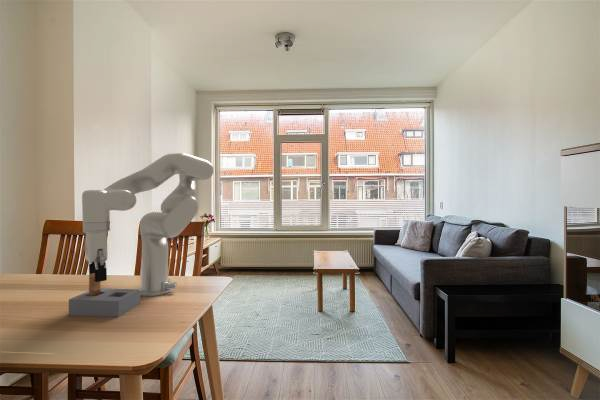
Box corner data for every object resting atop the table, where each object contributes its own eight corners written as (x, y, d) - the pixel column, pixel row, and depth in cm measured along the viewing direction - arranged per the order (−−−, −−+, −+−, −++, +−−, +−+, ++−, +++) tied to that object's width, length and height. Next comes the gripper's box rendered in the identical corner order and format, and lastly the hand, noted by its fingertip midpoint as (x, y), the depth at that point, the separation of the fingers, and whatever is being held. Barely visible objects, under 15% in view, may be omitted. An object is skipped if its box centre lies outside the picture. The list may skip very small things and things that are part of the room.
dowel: (102, 302, 102) (103, 273, 102) (95, 306, 99) (96, 275, 99) (93, 302, 103) (93, 272, 102) (86, 305, 99) (86, 275, 99)
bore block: (139, 303, 107) (140, 289, 107) (118, 316, 95) (118, 301, 95) (95, 302, 107) (95, 288, 107) (68, 315, 95) (68, 299, 95)
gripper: (78, 225, 105) (79, 274, 105) (87, 230, 92) (88, 286, 93) (104, 223, 110) (105, 270, 110) (115, 228, 97) (116, 281, 98)
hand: (97, 277), depth 102 cm, fingers open, 9 cm apart
